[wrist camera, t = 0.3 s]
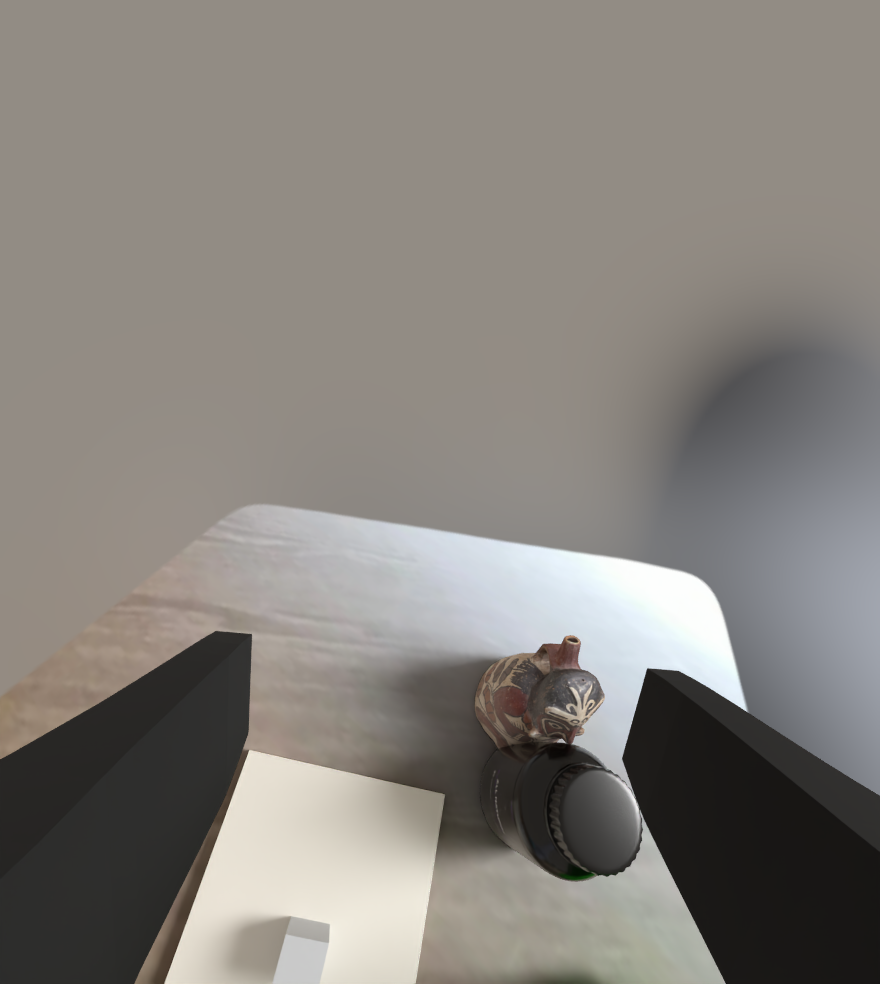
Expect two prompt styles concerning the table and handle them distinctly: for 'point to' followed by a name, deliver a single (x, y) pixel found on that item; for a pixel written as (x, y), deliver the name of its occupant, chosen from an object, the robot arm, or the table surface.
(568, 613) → the table surface
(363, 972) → the board
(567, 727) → the figurine
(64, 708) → the table surface
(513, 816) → the supplement bottle
